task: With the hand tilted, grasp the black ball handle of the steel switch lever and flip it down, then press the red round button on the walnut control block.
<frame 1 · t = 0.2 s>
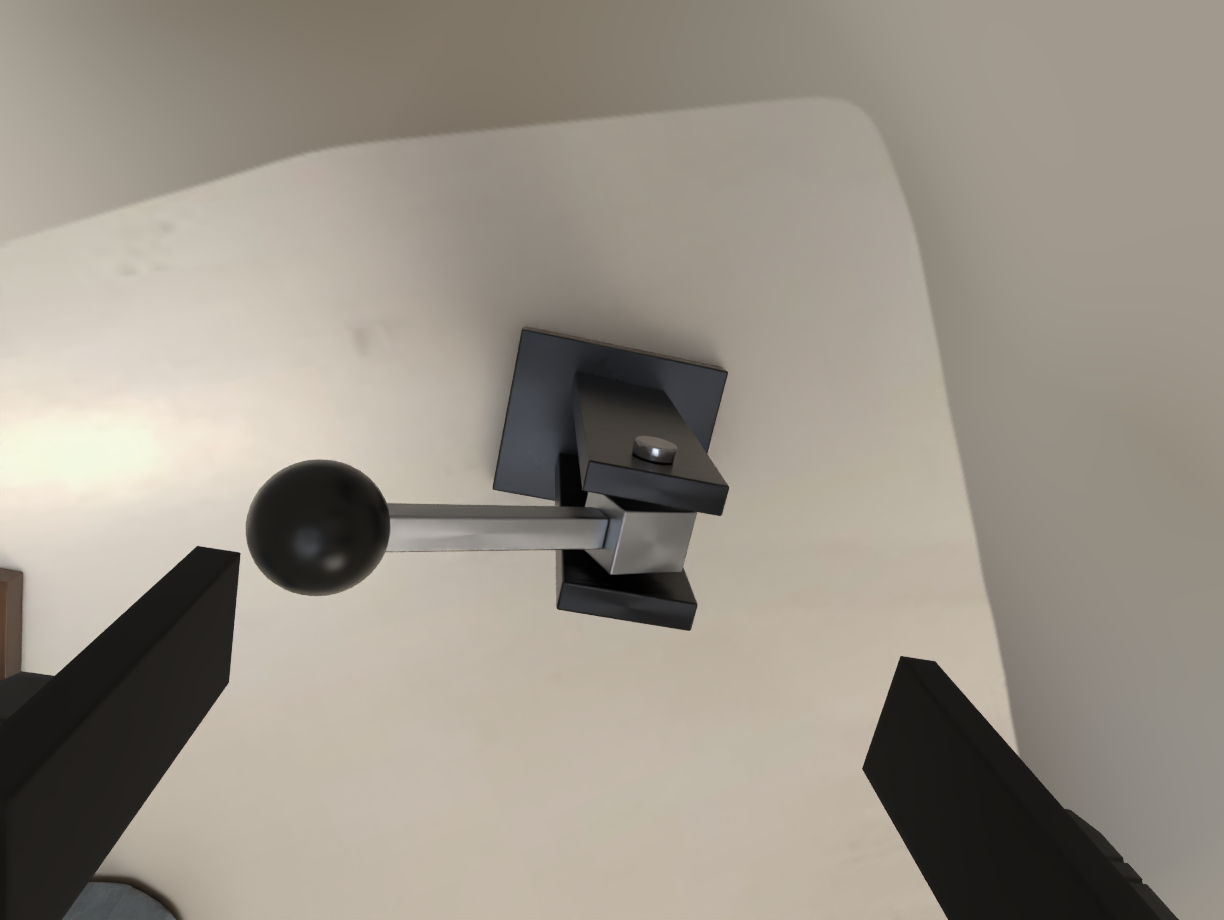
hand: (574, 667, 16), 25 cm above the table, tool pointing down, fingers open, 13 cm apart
switch lever: (489, 527, 24), point 16 cm above the table, hinge at 25.0°
switch bracket: (607, 425, 40), on the table
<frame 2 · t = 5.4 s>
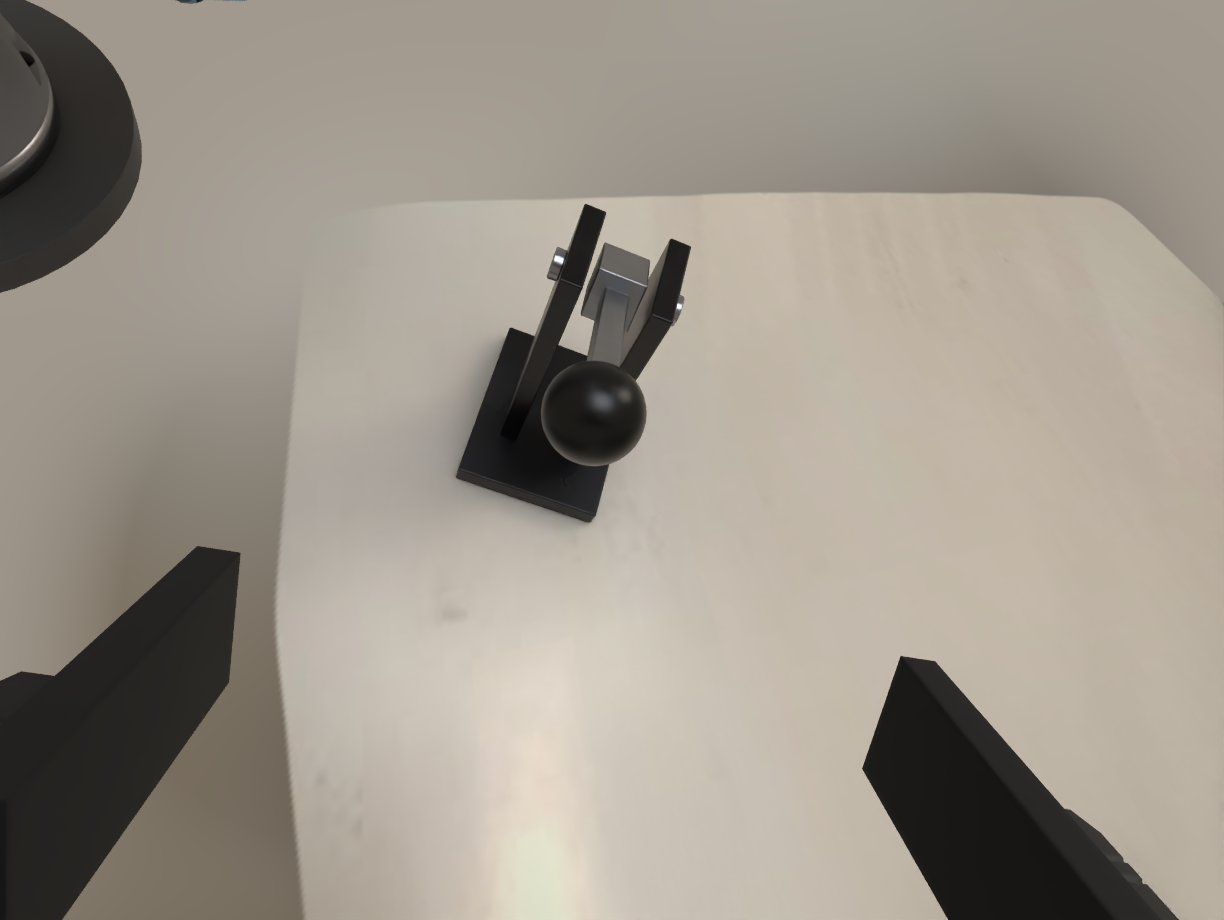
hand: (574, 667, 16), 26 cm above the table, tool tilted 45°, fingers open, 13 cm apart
switch lever: (605, 344, 31), point 16 cm above the table, hinge at 25.0°
switch bracket: (546, 426, 47), on the table
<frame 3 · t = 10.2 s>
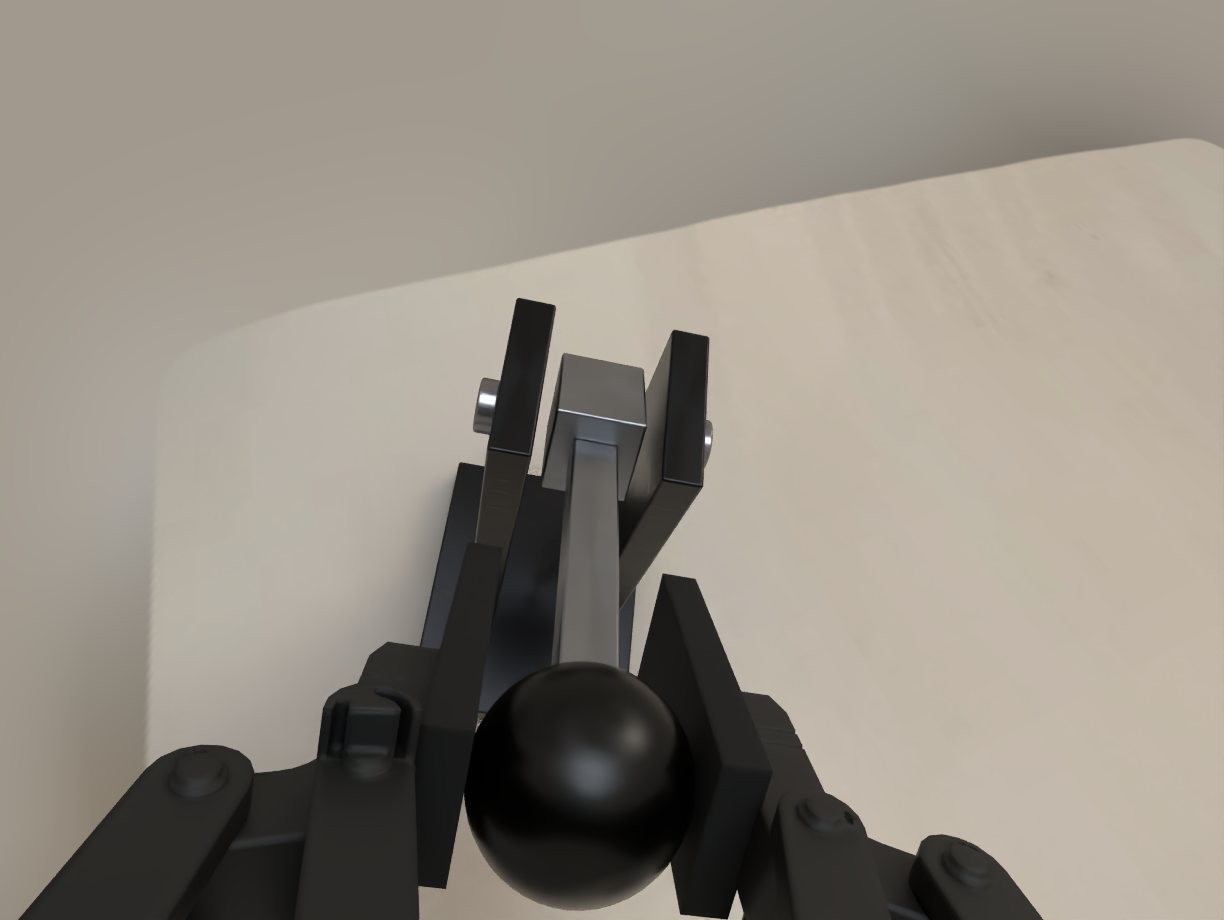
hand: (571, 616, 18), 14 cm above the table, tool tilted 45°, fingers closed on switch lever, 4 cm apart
switch lever: (588, 566, 16), point 16 cm above the table, hinge at 25.0°, touching gripper
switch bracket: (533, 598, 33), on the table
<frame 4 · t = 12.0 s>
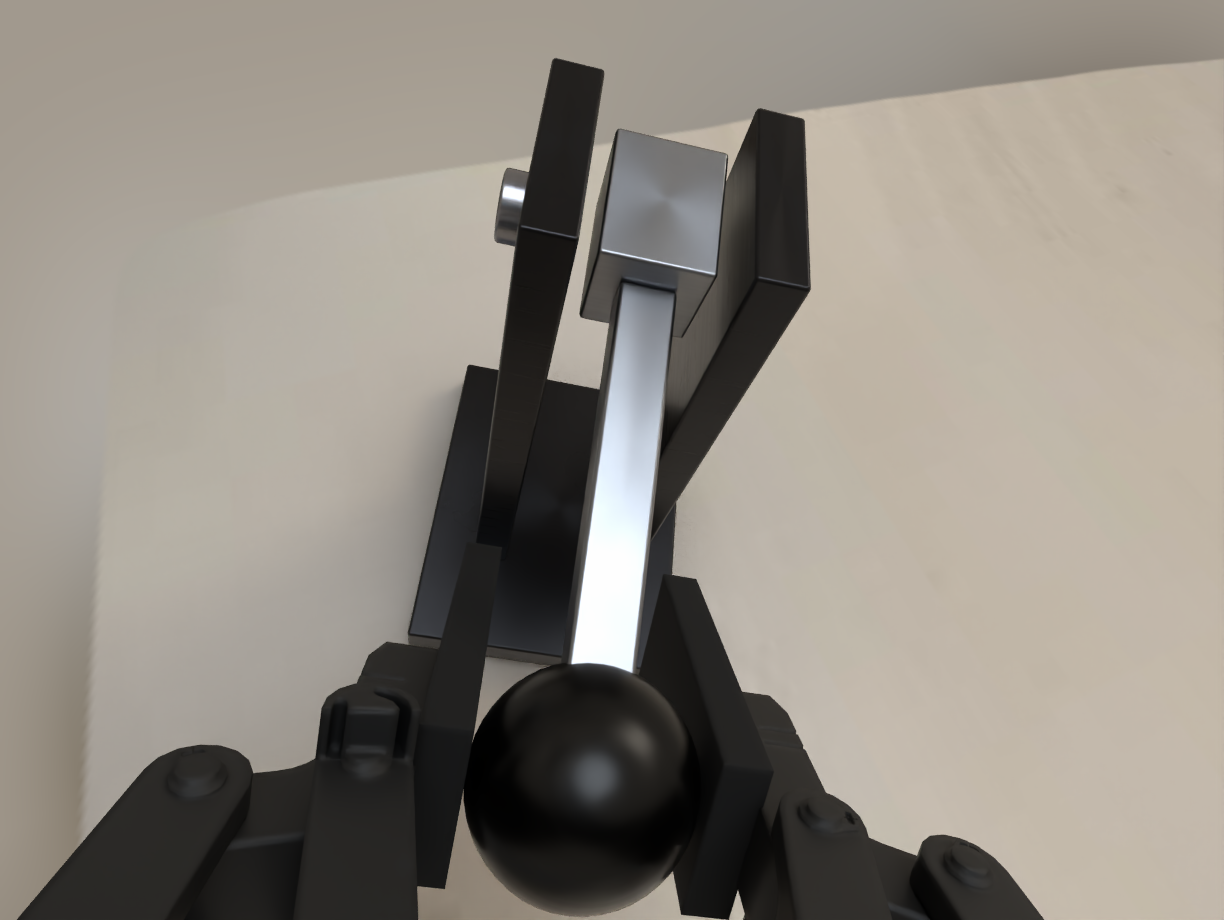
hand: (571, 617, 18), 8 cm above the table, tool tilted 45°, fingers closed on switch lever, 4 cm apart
switch lever: (620, 486, 14), point 13 cm above the table, hinge at -8.9°, touching gripper
switch bracket: (555, 521, 28), on the table
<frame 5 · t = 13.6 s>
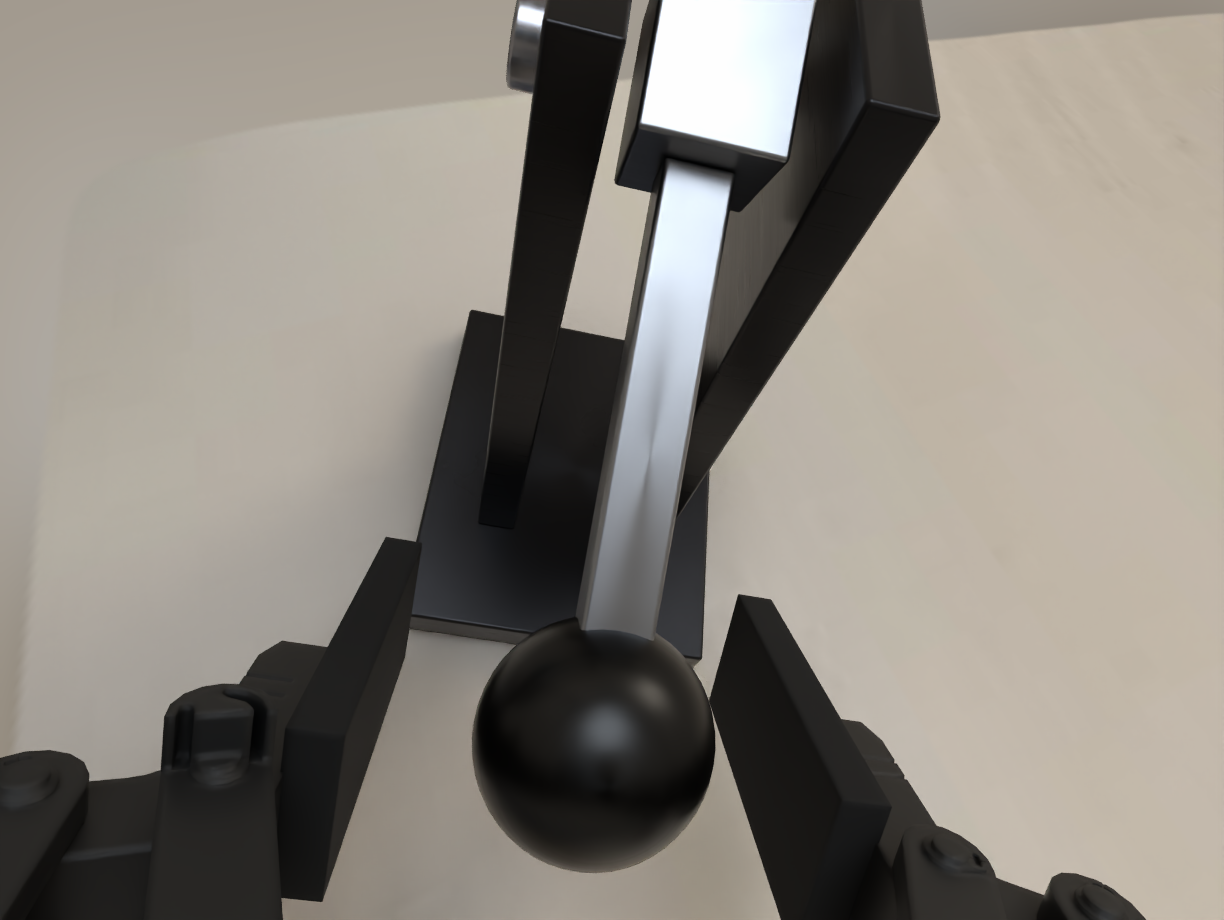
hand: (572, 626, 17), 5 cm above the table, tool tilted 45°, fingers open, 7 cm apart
switch lever: (650, 421, 12), point 12 cm above the table, hinge at -28.5°
switch bracket: (570, 487, 24), on the table
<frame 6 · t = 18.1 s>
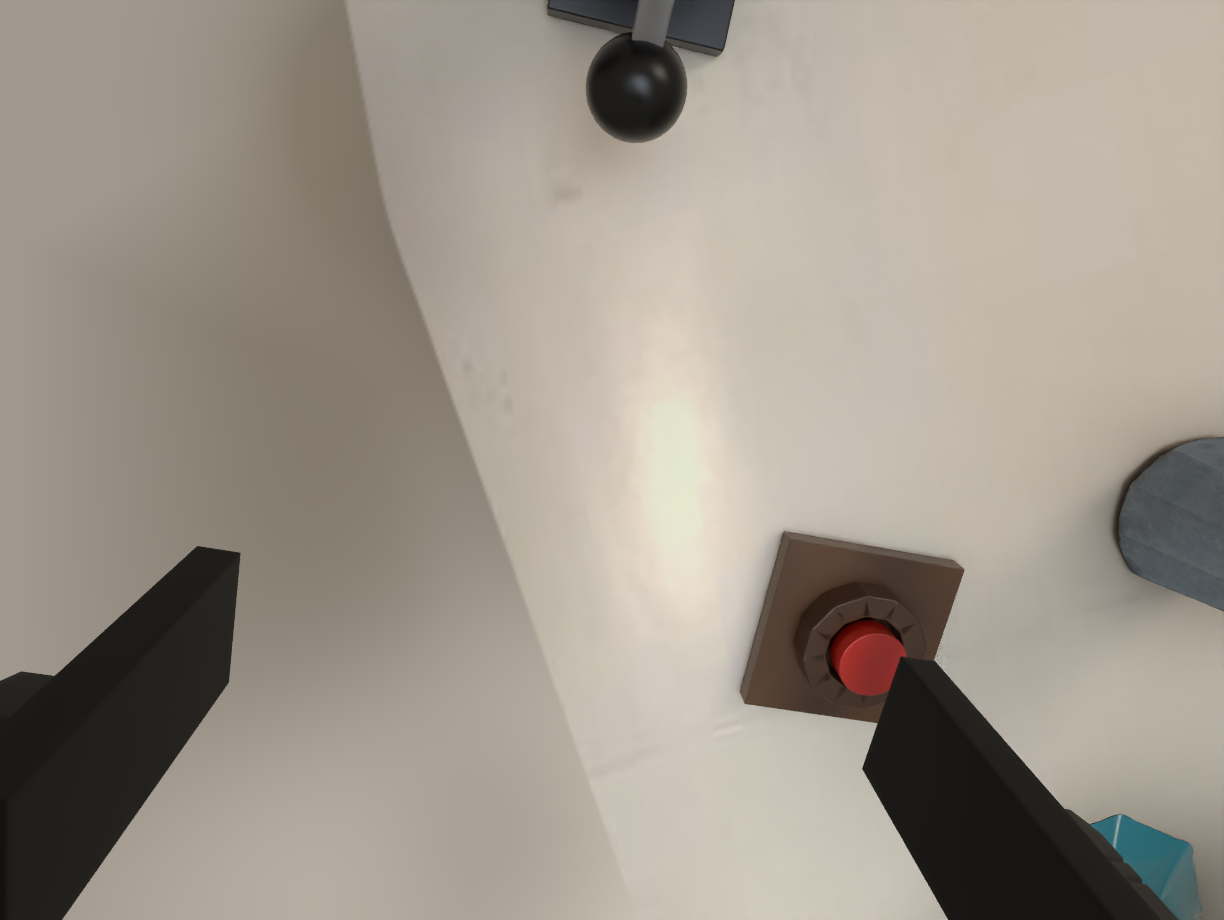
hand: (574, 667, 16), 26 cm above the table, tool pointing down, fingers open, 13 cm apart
vase: (1091, 909, 52), on the table
start button: (867, 657, 42), point 3 cm above the table, slide at 0.1 cm
moka pot: (1178, 512, 45), on the table
control block: (845, 627, 45), on the table
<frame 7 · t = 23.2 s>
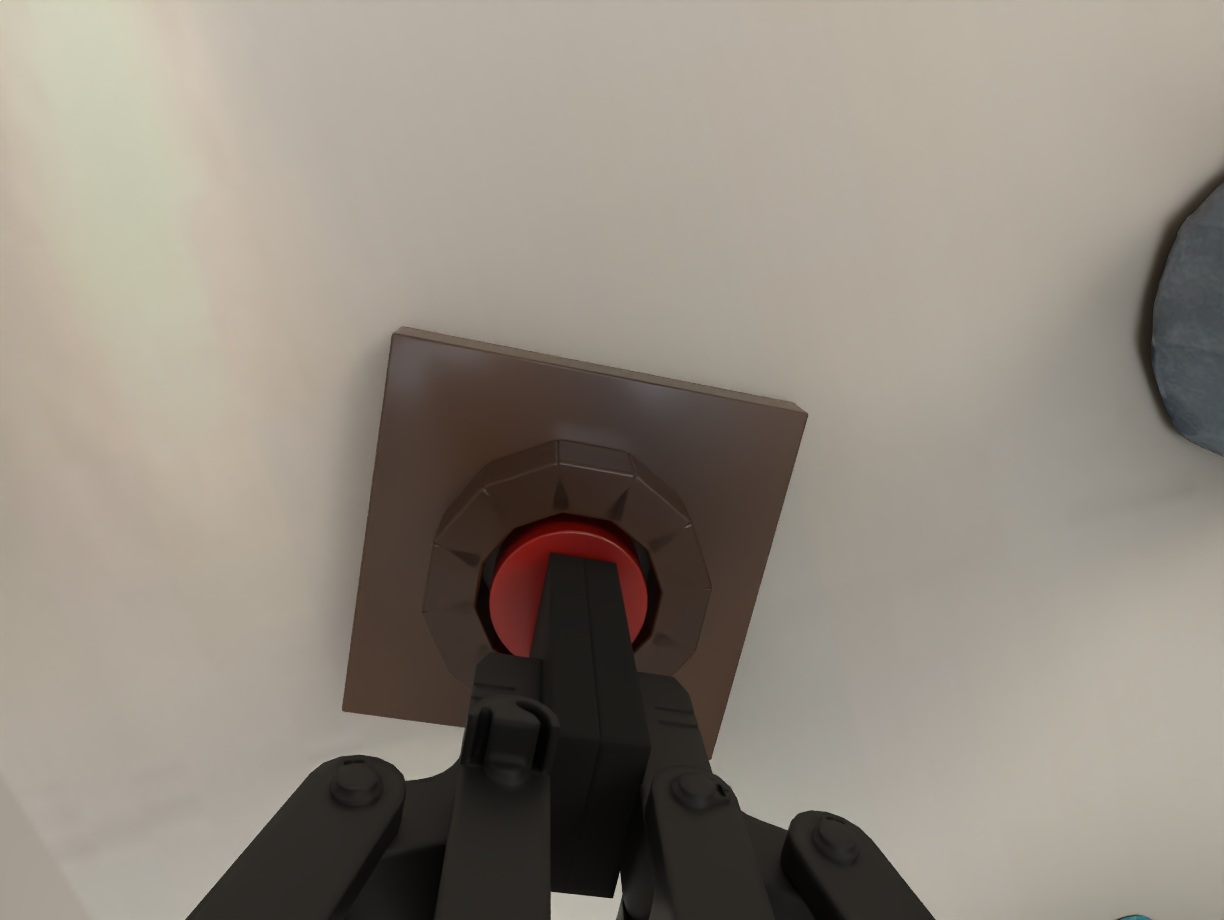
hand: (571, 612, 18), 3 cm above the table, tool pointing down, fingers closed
start button: (568, 589, 19), point 2 cm above the table, slide at -0.8 cm, touching gripper
control block: (566, 549, 21), on the table
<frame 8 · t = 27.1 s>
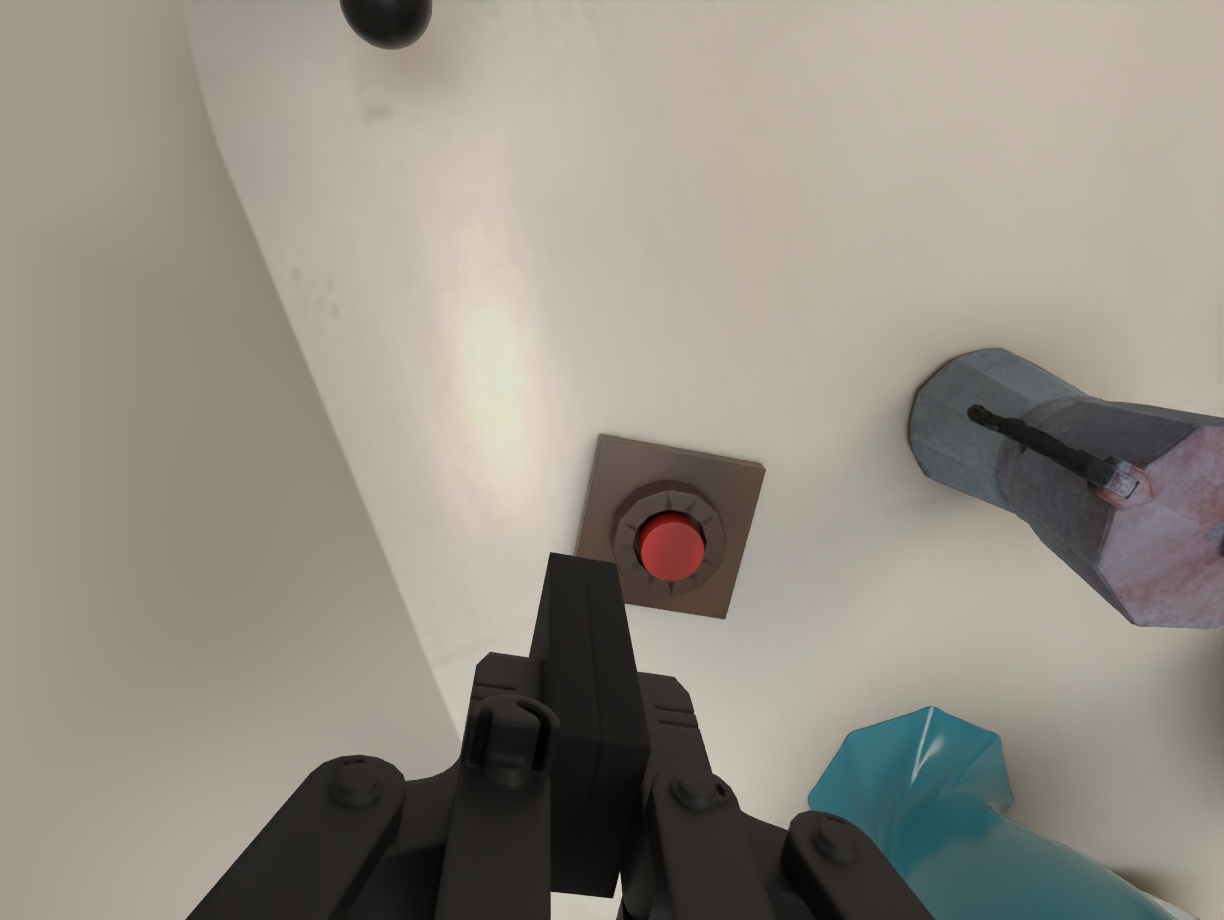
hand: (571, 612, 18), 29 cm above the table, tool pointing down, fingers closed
vase: (910, 797, 57), on the table
alarm clock: (1062, 909, 61), on the table
start button: (670, 547, 46), point 3 cm above the table, slide at 0.1 cm
moka pot: (968, 420, 49), on the table
control block: (663, 525, 49), on the table
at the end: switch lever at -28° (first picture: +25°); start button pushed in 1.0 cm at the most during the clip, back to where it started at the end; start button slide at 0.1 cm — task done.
